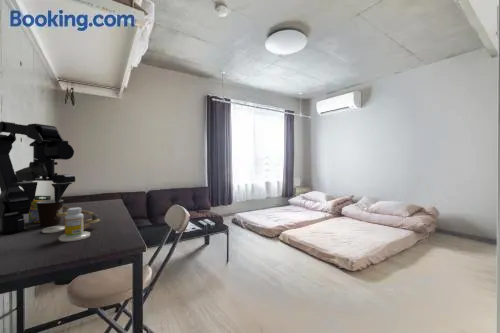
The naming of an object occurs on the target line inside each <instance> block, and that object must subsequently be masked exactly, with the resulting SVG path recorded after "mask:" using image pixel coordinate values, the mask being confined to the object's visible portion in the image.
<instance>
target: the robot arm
mask: <svg viewBox="0 0 500 333" xmlns="http://www.w3.org/2000/svg"><path fill="white" fill-rule="evenodd" d="M2 133H7V134H2ZM16 135H23V136H26V137H27V138H29V139H32V140H33V142H31V143H30V144H29V147H32V152H33V153H32V154H33V156H32V157H33V161H30V162H29V165H28V166H27V167H23V168H21V169H19V170H16V171H15V169H14V166H13V164H12V159H11V156H10V153H11V151H12V149H13V144H14V143H15V142H16V141H17V136H16ZM74 154H75V150H74V148H73V146H71V145H70V144H69V140H64V138H63V137H62V135H61V133H60V132H59V130H58V128H57V127H56V126H55V125H48V124H42V123H28V124H19V123H15V122H8V121H3V120H1V121H0V235H12V234H16V233H19V232H22V231H25V230H28V227H25V218H24V216H25V215H29V211H30V207H31V202H33V201H34V198H35V196H36V192H37V189H38V188H37V187H38V182H44V181H45V182H53V183H50V184H51V186H52V188H54V192H53V193H54V200H55V202H59V200H61V198H62V196H63V195H64V193H65V192H66V190H67V188H68V187H69V186H70V185H72V184H73V183H75V182H76V176H75V175H74V174H65V173H64V174H58V172H56V170H55V168H56V167H55V166H57V165H58V161H56V160H65V161H67V160H70V159H71V158H73V156H74ZM21 188H22V189H21Z"/></svg>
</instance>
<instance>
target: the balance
mask: <svg viewBox="0 0 500 333" xmlns="http://www.w3.org/2000/svg"><path fill="white" fill-rule="evenodd" d="M69 208H72V207H70V206H66V205H64V206H63V207H62V213H58V214H56V216H61V217H65V216H66V215H68V212H67V211H66V212H65V210H67V209H69ZM81 213H82V214H83V215H84V214H85V215H89V216H91V217H92V218H90V219H86V220H85V223H84V230H85V229H87V228H89V227H91V224H95V223H98V222H100V221H101V219H100V218H98V214H94V212H93V211H92V212H91V211H88V210H83V209H81Z"/></svg>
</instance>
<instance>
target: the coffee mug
mask: <svg viewBox="0 0 500 333" xmlns="http://www.w3.org/2000/svg"><path fill="white" fill-rule="evenodd" d="M63 205H64V199H60V200H59V202H55V199H51V200H45V201H39V202H37V208H38V214H39V220H40V223H39V225H40V227H43V228H48V227H53V226H59V225H60V224H61V220H62V216H56V214H58V213H63V207H64V206H63Z"/></svg>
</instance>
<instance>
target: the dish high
mask: <svg viewBox="0 0 500 333" xmlns="http://www.w3.org/2000/svg"><path fill="white" fill-rule="evenodd" d="M62 231H65V225H54V226H47V227H43V229H42V228H41V233H43V234H54V233H59V232H62Z"/></svg>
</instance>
